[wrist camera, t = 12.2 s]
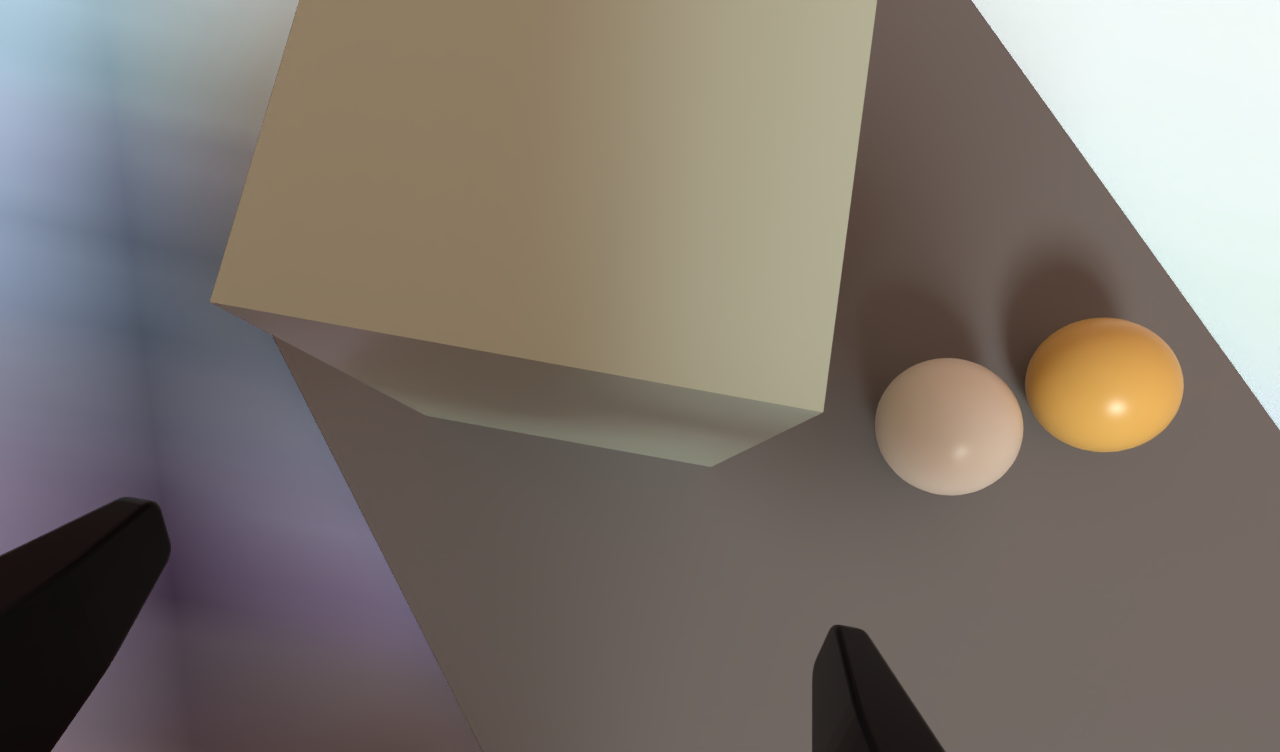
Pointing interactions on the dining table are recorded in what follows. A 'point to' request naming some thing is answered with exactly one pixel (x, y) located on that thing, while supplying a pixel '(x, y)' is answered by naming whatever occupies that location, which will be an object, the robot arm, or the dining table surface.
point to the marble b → (1104, 384)
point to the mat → (868, 490)
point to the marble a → (949, 426)
